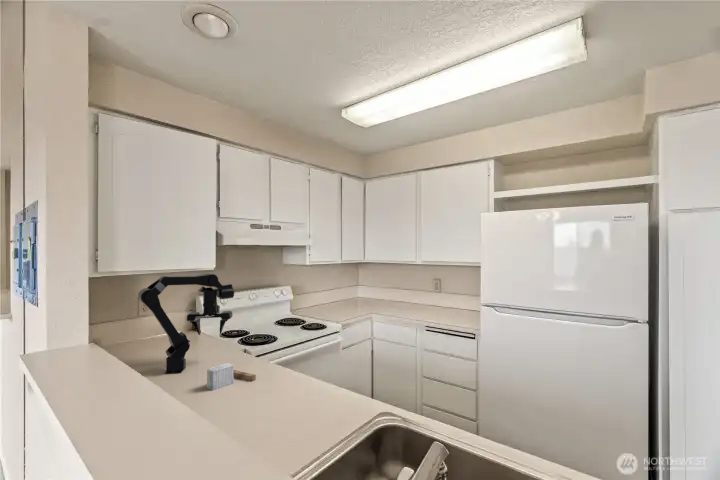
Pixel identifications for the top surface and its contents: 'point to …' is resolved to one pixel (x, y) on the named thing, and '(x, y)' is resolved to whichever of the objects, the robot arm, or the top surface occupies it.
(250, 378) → the walnut tipping strip
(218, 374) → the medicine box
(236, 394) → the top surface
